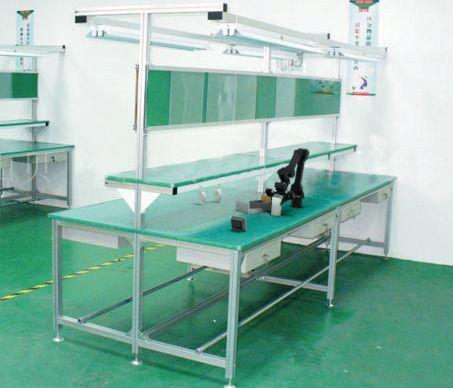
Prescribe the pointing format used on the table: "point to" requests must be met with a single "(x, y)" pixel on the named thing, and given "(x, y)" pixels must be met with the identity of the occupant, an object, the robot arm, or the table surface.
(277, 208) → the bottle
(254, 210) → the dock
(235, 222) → the electrical switch
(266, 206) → the grey and tan box
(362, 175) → the table surface
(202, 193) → the headset
